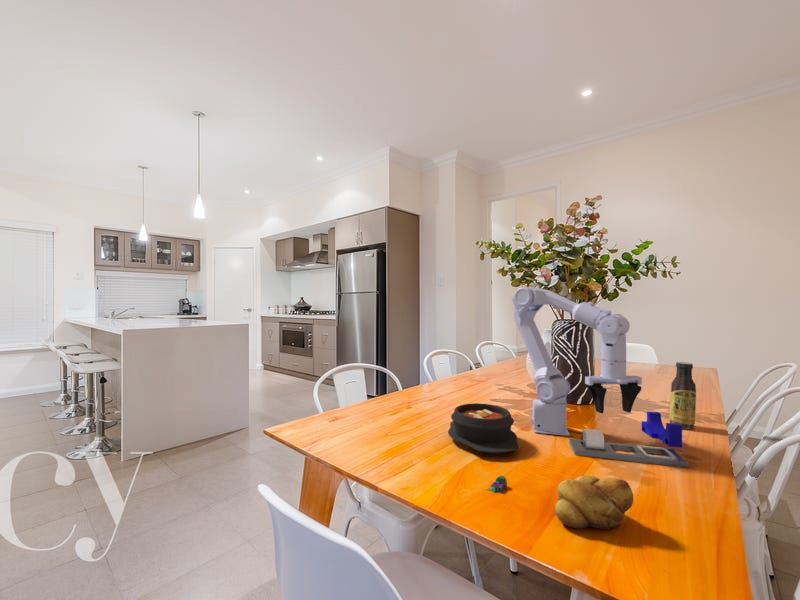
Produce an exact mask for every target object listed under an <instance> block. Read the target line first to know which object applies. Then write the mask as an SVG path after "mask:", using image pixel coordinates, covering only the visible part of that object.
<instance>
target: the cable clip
mask: <svg viewBox="0 0 800 600" xmlns="http://www.w3.org/2000/svg"><path fill="white" fill-rule="evenodd" d="M665 425H666V426H665V427H664V424H663V421H662V414H661V412H659V411H649V410H648V411H646V420H643V421H641V431H642V432H643V433H644V434H645V435H647V436H648V435H649V436H648V437H649V438H651V437H652V438H651V439H658V440H659V441H661V442H662V443H664V445H666V446H668V447H671V448H683V429H682V425H680V424H675V423H670V422H667V423H665Z"/></svg>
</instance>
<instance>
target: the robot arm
mask: <svg viewBox="0 0 800 600" xmlns="http://www.w3.org/2000/svg"><path fill="white" fill-rule="evenodd" d="M511 301H512V304H513V316H514V317H513V318H514V322H515V325H516V327H517V329H518V332H519V335H520V337H521V339H522V341H523V343H524V345H525V348H526V351H527V353H528V356H529V358H530V360H531V363H532V365H533V368H534V370H535V374H534V377H533V381H534V383H535V393H536V395H537V397H538V399H532V418H531V424H532V427H533V431H534V433H536V434H549V435H557V436H567V437H570V436H571V435H570V434H571V433H570V432H569V430H568V428H567V396H569V394H570V392H571V384H570V382H569V381H568V380H567V379H566V378H565V377H564V376H563V374H562V372H561V370H559V369H558V368H557V367H556V366H554V363H553V361H552V358H551V356H550V354H549V352H548V349H547V348H546V345H545V343H544V340H543V338H542V335H541V333H540V332H539V329H538V326H537V324H536V322H535V320H534V319H535V316H536V315H537V313H538V311H540V309H541V308H542V307H543V306H545V305H549V306H552V307H554V308H556V309H559V310H561V311H564V312H567V313H569V314H570V315H571V314H572V316H573V319H574V320H575V322H578V323H581V324H583V325H585V326H587V327H589V328H591V329H594V330H596V331H598V333H599V334H600V335H601V336H600V337H601V339H600V342H601V343H600V375H599V374H598V375H597V374H596V375H591V376H588V375H587V376H584V384H585V385H586V388H587V389H588V391H589V393H590V396H591V399H592V400H593V405H594V409H595V412H597V413H599V414H604V411H605V396H606V393H607V390H608V388H606V387H603V385H619V388H620V392H621V406H622V411H624V412H626V413H629V414H630V413H631V412H632V409H633V406H634V403H635V401H636V399H637V397H638V395H639V394H640V392H641V391H642V386H641V385H643V380H642V379H643V377H642V376H638V375H627V333H628V331H629V330H630V322H629V320H628V319H627V318H626V317H625V316H623V315H622V314H621V313H615V314H612V310H609V309H606V310H605V309H602V308H600V307H598V306H595V302H591V301H587V302H585V301H584V302H580V303H578V302H577V303H576V302H574V301H573V300H570V299H569V298H566V297H563V296H562V295H559V294H558V293H557V292H556V293H555V292H553V291H551V290H548V289H544V288H541V287H526V286H520V287H519V288H516V290H515V292H514V294H513V295H512V297H511Z"/></svg>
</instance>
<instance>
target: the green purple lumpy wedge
mask: <svg viewBox="0 0 800 600" xmlns="http://www.w3.org/2000/svg"><path fill="white" fill-rule="evenodd" d="M507 487H508V480H507V478H506V477H505V476H504V475H501V474H500V475H498V477H496V479H495V481H494V482H492V483H491V485H490V486H489V487H488V488H487V489H486V491H488V492H490V493H493V494H495V492H497V493H500V494H501V493H502V492H503V491H504V490H505V489H506V488H507Z"/></svg>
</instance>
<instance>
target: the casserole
mask: <svg viewBox="0 0 800 600" xmlns="http://www.w3.org/2000/svg"><path fill="white" fill-rule="evenodd" d="M450 419H451V420H452V421H451V422H450V423H449V426H450V427H449V428H448V429H449V430H448V431H447V433H448V435H449V437H450V438H451V439H452V440H454V441H456V442H458V443H461V444H463V445H465V446H468V447H470V448H472V449H473V450H475V451H477V452H480V453H487V454H503V453H504V454H505V453H510V452H516V451H517V450H519V449H520V445H519V442H518V436H517V434H516V433H515V432H514V431H513V430H511V429H512V426H513V425H514V423H515V420H514V418H512V416H511V412H510V411H509V410H508V409H506V408H504V407H502V406H499V405H494V404H488V403H464V404H460V405H457V406H456V407H455V408H454V410H453V413H452V414H451V415H450Z"/></svg>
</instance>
